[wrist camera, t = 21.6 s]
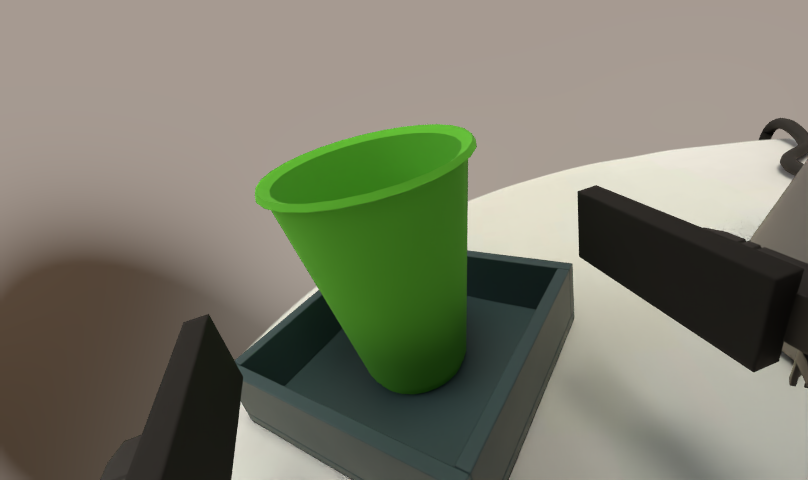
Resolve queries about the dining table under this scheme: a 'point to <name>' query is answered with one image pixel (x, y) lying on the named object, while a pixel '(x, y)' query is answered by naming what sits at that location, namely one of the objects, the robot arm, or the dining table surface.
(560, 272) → the holder
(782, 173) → the dining table surface
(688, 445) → the dining table surface
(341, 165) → the cup
